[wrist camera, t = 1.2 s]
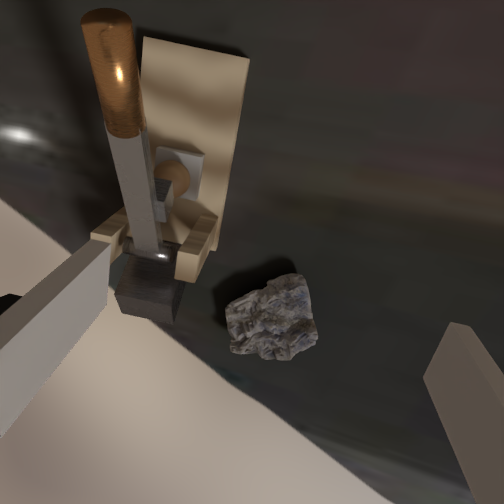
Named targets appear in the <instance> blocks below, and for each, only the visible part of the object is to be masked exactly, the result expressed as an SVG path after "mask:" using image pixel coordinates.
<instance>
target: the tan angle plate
mask: <svg viewBox="0 0 504 504" xmlns="http://www.w3.org/2000/svg"><path fill="white" fill-rule="evenodd" d="M249 62H250V59H247V58H243V57H238V56H233V55H229V54H224V53H219V52H215V51H210V50H205V49H201V48H196V47H191V46H187V45H182V44H177V43H173V42H168V41H163V40H159V39H154V38H149V37H145V36H144V39H143V52H142V65H141V78H140V85H141V92H142V99H143V106H144V113H145V117H146V124H147V131H148V138H149V145H150V153H151V160H152V167H153V175H154V177H156V178H161V179H166V180H170V181H172V184H173V196H174V203H173V206H172V209H171V211H170V214H169V217H168V220H167V222H166V223H165V222H160V226H161V233H162V240H166V241H171V242H175V243H180V244H182V246H181V247H180V249H179V250H178V255H177V262H176V270H175V277H174V279H178V280H182V281H187V282H192V283H195V281H196V279H197V277H198V274H199V272H200V270H201V268H202V266H203V264H204V262H205V259H206V257H207V255H208V253H209V251H210V250H212V251H216V248H217V245H218V239H219V234H220V228H221V222H222V217H223V211H224V205H225V199H226V194H227V188H228V182H229V177H230V171H231V165H232V159H233V154H234V148H235V142H236V136H237V131H238V125H239V119H240V114H241V108H242V102H243V96H244V91H245V85H246V79H247V74H248V68H249ZM126 236H130V237H132V233H131V229H130V225H129V221H128V217H127V213H126V209H125V206H124V207H122V208H121V209H120V210H119V211H117V212H116V213H115V214H113V215H112V216H111V217H110V218H108V219H107V220H106V221H105V222H103V223H102V224H101V225H99V226H98V227H97V228H96V229H94V230H93V231H92V232H91V239H94V240H99V241H103V242H107V243H111V254H110V264H111V263H112V262H113V261H114V260H115V259H116V258H117V257H118V256H119V255H120V254H121V253H122V246H123V242H124V239H125V237H126Z"/></svg>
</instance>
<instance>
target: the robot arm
mask: <svg viewBox="0 0 504 504" xmlns="http://www.w3.org/2000/svg"><path fill="white" fill-rule="evenodd" d="M110 254H111V243H107V242H103V241H99V240H94V239H91V240H89V241H88V242H87V243H86V244H85V245H83V246H82V247H81V248H80V249H79V250H78V251H76V252H75V253H74V254H73V255H72V256H70V257H69V258H68V259H67V260H66V261H64V262H63V263H62V264H61V265H60V266H59V267H57V268H56V269H55V270H54V271H53V272H51V273H50V274H49V275H48V276H47V277H46V278H44V279H43V280H42V281H41V282H40V283H38V284H37V285H36V286H35V287H34V288H32V289H31V290H30V291H29V292H28V293H26V294H25V295H24V296H23V297H22V296H18V295H14V294H7V295H5V296H2V297H0V438H2V436H3V435H4V434H5V433H6V431H7V430H8V429H9V428H10V426H11V425H12V424H13V422H14V421H15V420H16V419H17V417H18V416H19V415H20V414H21V412H22V411H23V410H24V409H25V407H26V406H27V404H28V403H29V402H30V401H31V400H32V398H33V397H34V396H35V395H36V393H37V392H38V391H39V390H40V388H41V387H42V386H43V384H44V383H45V382H46V381H47V379H48V378H49V377H50V376H51V374H52V373H53V372H54V371H55V369H56V368H57V367H58V366H59V364H60V363H61V361H62V360H63V359H64V358H65V357H66V355H67V354H68V353H69V352H70V350H71V349H72V348H73V347H74V345H75V344H76V343H77V342H78V340H79V339H80V338H81V336H82V335H83V334H84V333H85V331H86V330H87V329H88V328H89V326H90V325H91V324H92V323H93V321H94V320H95V319H96V317H97V316H98V315H99V314H100V312H101V311H102V310H103V309H104V307H105V306H106V305H107V293H108V280H109V267H110ZM423 379H424V382H425V384H426V386H427V389H428V391H429V393H430V396H431V398H432V400H433V403H434V405H435V408H436V410H437V412H438V415H439V417H440V419H441V422H442V424H443V426H444V429H445V431H446V433H447V436H448V438H449V441H450V443H451V445H452V448H453V450H454V452H455V455H456V457H457V459H458V462H459V464H460V466H461V469H462V471H463V474H464V476H465V478H466V481H467V483H468V485H469V488H470V490H471V492H472V495H473V497H474V499H475V502H476V504H504V375H503V373H502V372H501V370H500V369H499V368H498V366H497V365H496V363H495V362H494V360H493V359H492V357H491V356H490V355H489V353H488V352H487V350H486V349H485V347H484V346H483V344H482V343H481V342H480V340H479V339H478V337H477V336H476V334H475V333H474V331H473V330H472V329H471V327H470V326H466V325H461V324H457V323H453V322H450V324H449V326H448V328H447V330H446V332H445V334H444V336H443V338H442V340H441V342H440V344H439V346H438V348H437V350H436V352H435V354H434V356H433V358H432V360H431V362H430V364H429V366H428V368H427V370H426V372H425V374H424V376H423Z"/></svg>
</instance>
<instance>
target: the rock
mask: <svg viewBox="0 0 504 504" xmlns="http://www.w3.org/2000/svg"><path fill="white" fill-rule="evenodd" d="M225 313H226V320H227V327H228V331H229V333H230V335H231V337H232V338H231V342H232V343H231V344H230V350H231V352H233V353H238V354H250V353H258V354H259V355H260V357H261V358H264V359H265V360H271V359H277V360H291V359H292V358H293V356H295V354H296V353H298V352H299V351H304V350H306V349H307V348H309V347H310V346H313V345H315V344H316V340H317V339H318V334H317V330H316V326H315V323H314V321H313V314H312V311H311V302H310V295H309V291H308V287H307V283H306V280H305V278H303V275H300V274H294V273H290V274H286V275H282V276H279V277H277V278H276V279H273V280H269V281H268V282H267V287H265V288H264V289H261V290H259V289H258V290H253V291H251V292H249V293H248V294H245V295H244V296H243V297H240V298H238V299H236V300H235V301H232V302H231V303H230V304H228V305H227V307H226V308H225Z"/></svg>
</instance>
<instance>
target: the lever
mask: <svg viewBox="0 0 504 504" xmlns="http://www.w3.org/2000/svg"><path fill="white" fill-rule="evenodd" d="M81 27H82V31H83V35H84V39H85V43H86V47H87V51H88V55H89V59H90V64H91V68H92V72H93V76H94V80H95V84H96V88H97V92H98V96H99V100H100V104H101V108H102V113H103V117H104V123H105V127H106V131H107V136H108V140H109V144H110V148H111V152H112V156H113V160H114V164H115V168H116V172H117V176H118V180H119V184H120V188H121V192H122V196H123V200H124V204H125V209H126V213H127V217H128V221H129V225H130V229H131V233H132V237H130V236H126V237H125V239H124V242H123V246H122V252H123V253H124V254H128V255H130V256H129V259H128V261H127V264H126V266H125V269H124V271H123V274H122V276H121V279H120V281H119V284H118V286H117V288H116V291H115V293H114V295H115V297H116V300H117V302H118V304H119V307H120V310H121V312H122V313H123V314H128V315H133V316H137V317H142V318H147V319H151V320H156V321H160V322H165V323H170V324H174V321H175V318H176V314H177V311H178V308H179V304H180V301H181V298H182V295H183V291H184V288H185V285H186V282H187V281H182V280H178V279H174V277H175V270H176V262H177V255H178V250H179V249H180V247H181V246H182V245H179V244H175V243H170V242H165V241H163V240H162V233H161V226H160V222H165V223H166V222H167V220H168V217H169V214H170V211H171V209H172V206H173V203H174V196H173V184H172V181H170V180H166V179H161V178H156V177H154V175H153V167H152V160H151V153H150V145H149V138H148V131H147V124H146V117H145V113H144V106H143V99H142V92H141V85H140V77H139V70H138V63H137V56H136V49H135V41H134V34H133V27H132V20H131V18H130V17H129V15H127V14H126V13H124V12H123V11H120V10H117V9H112V8H100V9H95V10H92V11H89V12H87V13H86V14H85V15H83V17H82V18H81Z"/></svg>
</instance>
